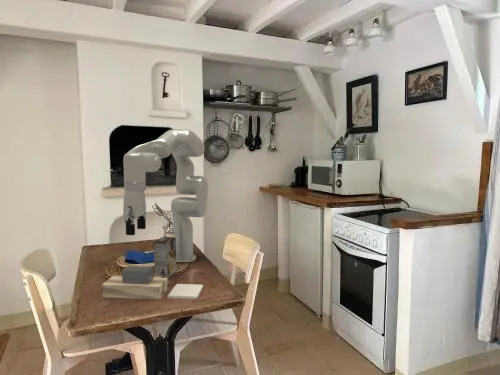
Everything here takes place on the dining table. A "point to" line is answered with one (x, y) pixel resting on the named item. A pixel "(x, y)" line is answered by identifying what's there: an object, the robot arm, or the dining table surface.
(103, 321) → the dining table surface
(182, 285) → the tile
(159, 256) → the coffee box
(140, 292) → the body
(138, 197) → the robot arm
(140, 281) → the grey metal block
